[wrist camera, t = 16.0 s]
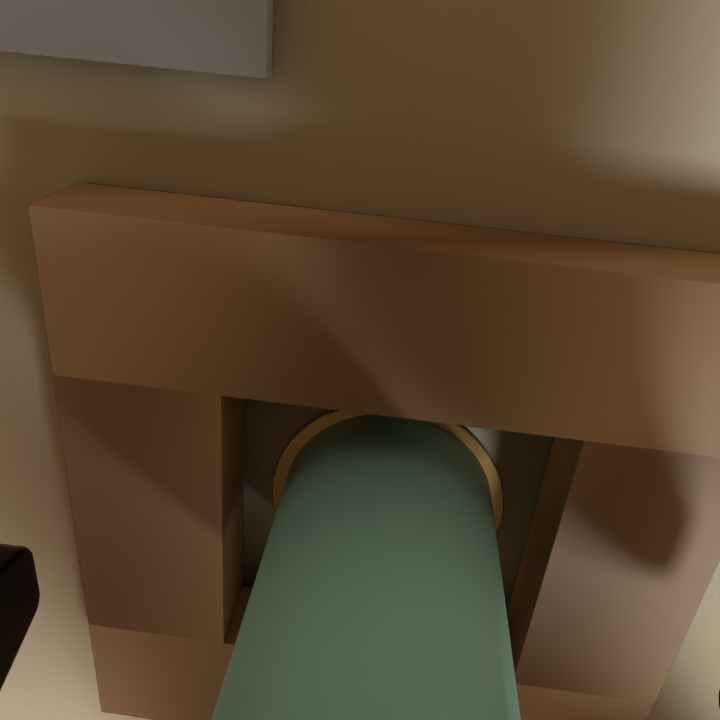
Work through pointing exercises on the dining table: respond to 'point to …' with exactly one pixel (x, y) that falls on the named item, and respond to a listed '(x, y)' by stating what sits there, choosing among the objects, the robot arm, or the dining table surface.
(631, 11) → the dining table surface
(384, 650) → the peg
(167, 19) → the card
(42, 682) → the dining table surface
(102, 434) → the brown square frame
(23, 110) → the dining table surface
